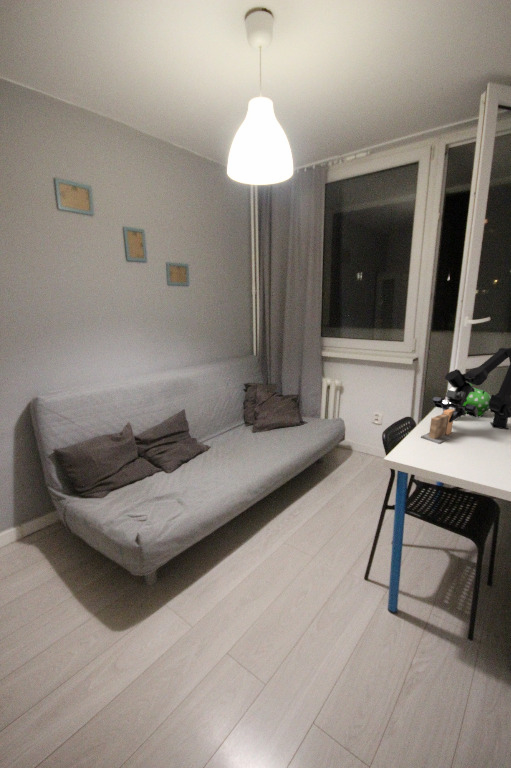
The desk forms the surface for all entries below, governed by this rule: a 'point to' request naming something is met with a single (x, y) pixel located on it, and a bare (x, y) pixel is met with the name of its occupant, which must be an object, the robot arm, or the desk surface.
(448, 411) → the block
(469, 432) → the desk surface
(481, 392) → the piggy bank
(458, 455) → the desk surface
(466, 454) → the desk surface
